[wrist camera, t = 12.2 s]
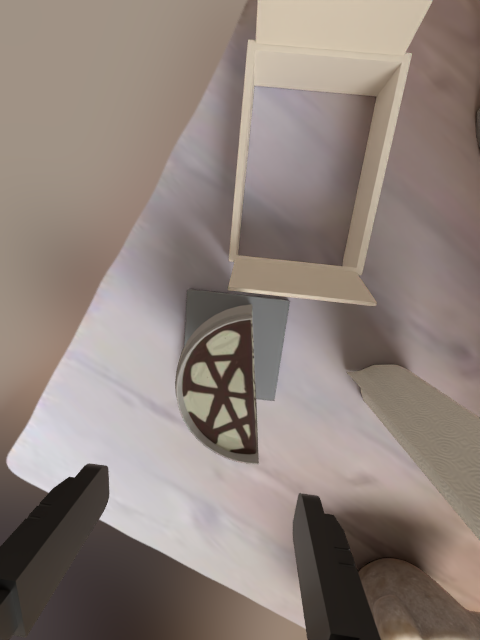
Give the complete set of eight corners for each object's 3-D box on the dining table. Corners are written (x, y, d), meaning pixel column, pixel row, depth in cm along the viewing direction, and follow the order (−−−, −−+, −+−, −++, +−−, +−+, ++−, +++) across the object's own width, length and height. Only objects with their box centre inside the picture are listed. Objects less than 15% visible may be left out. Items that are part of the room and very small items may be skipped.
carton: (391, 58, 20) (484, -79, 12) (341, 294, 25) (384, 307, 17) (251, 47, 20) (251, -95, 12) (229, 281, 25) (219, 289, 17)
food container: (194, 294, 24) (156, 313, 15) (251, 291, 24) (252, 309, 14) (204, 397, 27) (178, 470, 17) (256, 396, 27) (259, 470, 17)
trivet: (288, 299, 25) (289, 301, 24) (273, 396, 28) (274, 401, 27) (189, 288, 25) (187, 289, 24) (184, 385, 28) (182, 390, 27)
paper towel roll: (420, 394, 27) (999, 833, 6) (372, 417, 28) (728, 861, 7) (394, 345, 26) (1006, 686, 5) (345, 371, 27) (678, 744, 6)
